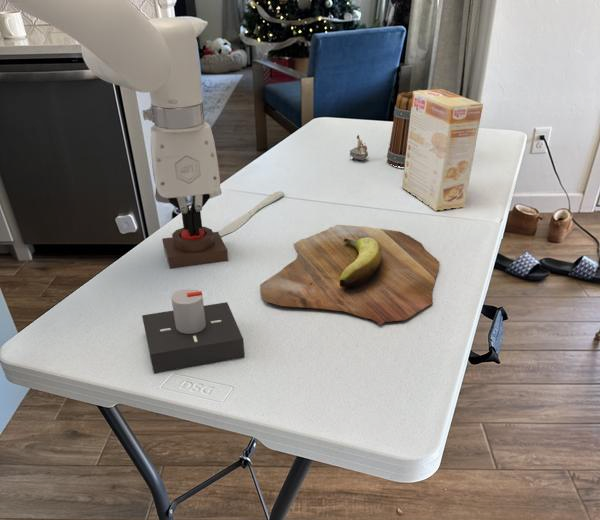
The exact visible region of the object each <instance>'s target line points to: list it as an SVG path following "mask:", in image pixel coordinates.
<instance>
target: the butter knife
mask: <svg viewBox="0 0 600 520" xmlns="http://www.w3.org/2000/svg"><path fill="white" fill-rule="evenodd" d="M284 195H285V192H284V191H275V192H273V193H271V194H270V195H268V196H267V197H266V198H264V199H263V200H262V201H261V202H259V203H258V204H257V205H256V206H254V207H253V208H251V209H250V210H249V211H247V212H246V213H244V214H243V215H241V216H239V217H238V218H236V219H235V220H234V221H232V222H230V223H228V224H227V225H226V226H224V227H223V228H221V229H220V230H218V231H217V232H218V233H219V234H220V236H221V237H223V236H225V235H228V234H230V233H233V232H235V231H237V230H238V229H239V228H241V227H242V226H243V225H244V224H245V223H247V221H249V219H250V218H251V217H253V215H254V214H256V213H257V212H258V211H259V210H261V209H263V208H264V207H266V206H268V205H270V204H272V203H274V202H276V201H277V200H279V199H280V198H282V197H283V196H284Z"/></svg>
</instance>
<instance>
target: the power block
mask: <svg viewBox="0 0 600 520" xmlns="http://www.w3.org/2000/svg"><path fill="white" fill-rule="evenodd" d="M199 229H202V230H203V231H204V232H205V236H204V237H202V238H199V239H193V240H189V239H183V238H181V232H182V231H184V227H181V228H178V229H176V230H175V231H174V232H173V233H172V234H171V237H163V238H162V239H161V241H162V247H163V251H164V254H165V257H166V261H167V264H168V268H169V269H170V270H172V269H180V268H186V267H194V266H201V265H209V264H216V263H223V262H229V254H228V253H229V251H228V248H227V246H226V243H224V240H223V237H222V236H220V234H219V233H218V231H213V230H212V229H211V228H209V227H207V226H202V228H199Z"/></svg>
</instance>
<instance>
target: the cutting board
mask: <svg viewBox="0 0 600 520" xmlns="http://www.w3.org/2000/svg"><path fill="white" fill-rule="evenodd" d="M293 245H294V248H295V250H296V252H297V256H296V259H294V260H293V261H291V262H290V263H288V264H287V265H286V266H284V268H282V269H281V270H279V271H278V272H276V273H275V274H274V275H272V276H271V277H269V278H268V279H266V280H265V281H264V282H262V283H260V285H259V289H260V296H261V298H262V299H263V300H264V301H265V302H266V303H269V304H274V305H277V306H281V307H291V308H292V307H293V308H307V309H321V310H331V311H337V312H338V311H339V312H345V313H348V314H351V315H354V316H357V317H359V318H363V319H370V320H372V321H373V322H376V323H377V324H378V325H380V326H381V325H382V324H384V323H389V322H399V321H406V320H408V319H410V318H411V317H413V316H414V315H416V314H417V313H419V312H420V311H422V310H423V309H425V308H426V307H427V308H428V307H429V306H430V305H432V304H434V302H433V290H434V286H435V281H436V278H437V275H438V273H439V270H440V264H441V263H440V262H441V261H440V260H438V259H437V258H436V257H435V256H434V255H432V253H430V252H429V251H428V250H427V249H426V248H425V246H424V245H423V244H422V242H421V241H418V240H417V239H415V238H414V237H412V236H410V235H408V234H406V233H405V232H402V231H399V230H392V229H386V228H379V227H369V226H359V225H343V224H336V225H334V226H332V227H330V228H327V229H325V230H322V231H319V232H318V233H316V234H313V235H310V236H308V237H306V238H305V237H304V238H301V239H299V240H297V241H296V242H295V243H293Z"/></svg>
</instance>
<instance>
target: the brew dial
mask: <svg viewBox="0 0 600 520" xmlns="http://www.w3.org/2000/svg"><path fill="white" fill-rule="evenodd" d="M170 300H171V306H172V311H173V312H174V318H175V325H176V329H177V330H178V331H179V332H181V333H185V334H193V333H197V332H200V331H202V330H203V329H204V328H205V327H206V320H205V312H204V306H205V304H204V297H203V291H202V290H200V291H199V289H194V288H184V289H180V290H177V291H176V292H174V293H172V295H171V299H170Z"/></svg>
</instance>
